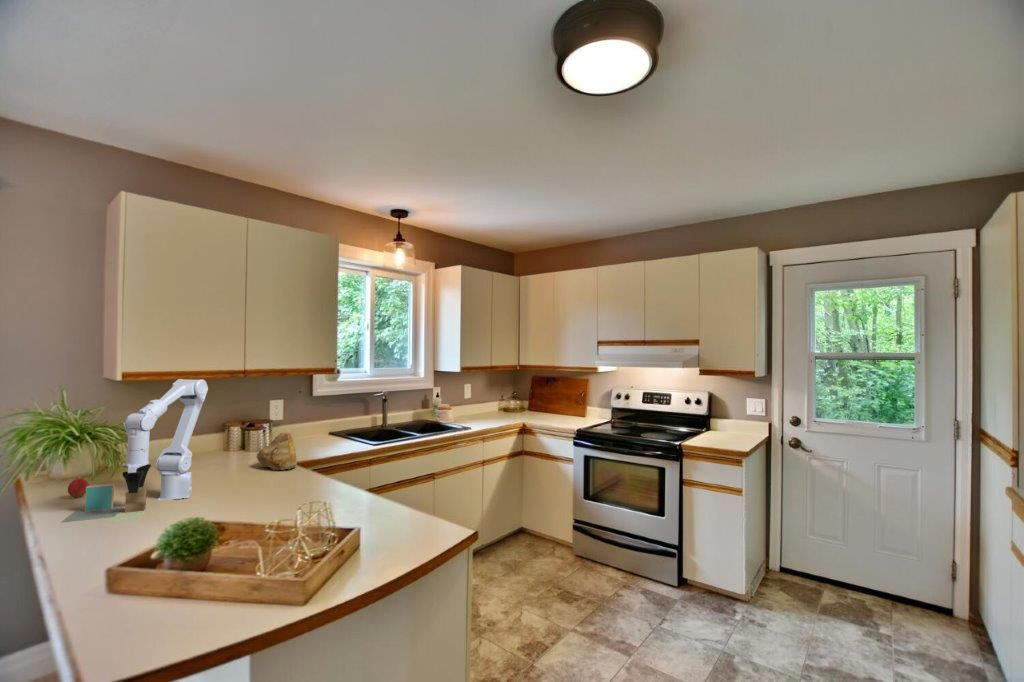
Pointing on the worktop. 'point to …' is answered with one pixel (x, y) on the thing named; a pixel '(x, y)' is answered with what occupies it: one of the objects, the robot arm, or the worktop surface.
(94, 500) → the tile
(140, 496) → the walnut block
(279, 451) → the rough brown rock
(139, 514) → the rest pad
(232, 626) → the worktop surface
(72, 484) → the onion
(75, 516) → the mat
